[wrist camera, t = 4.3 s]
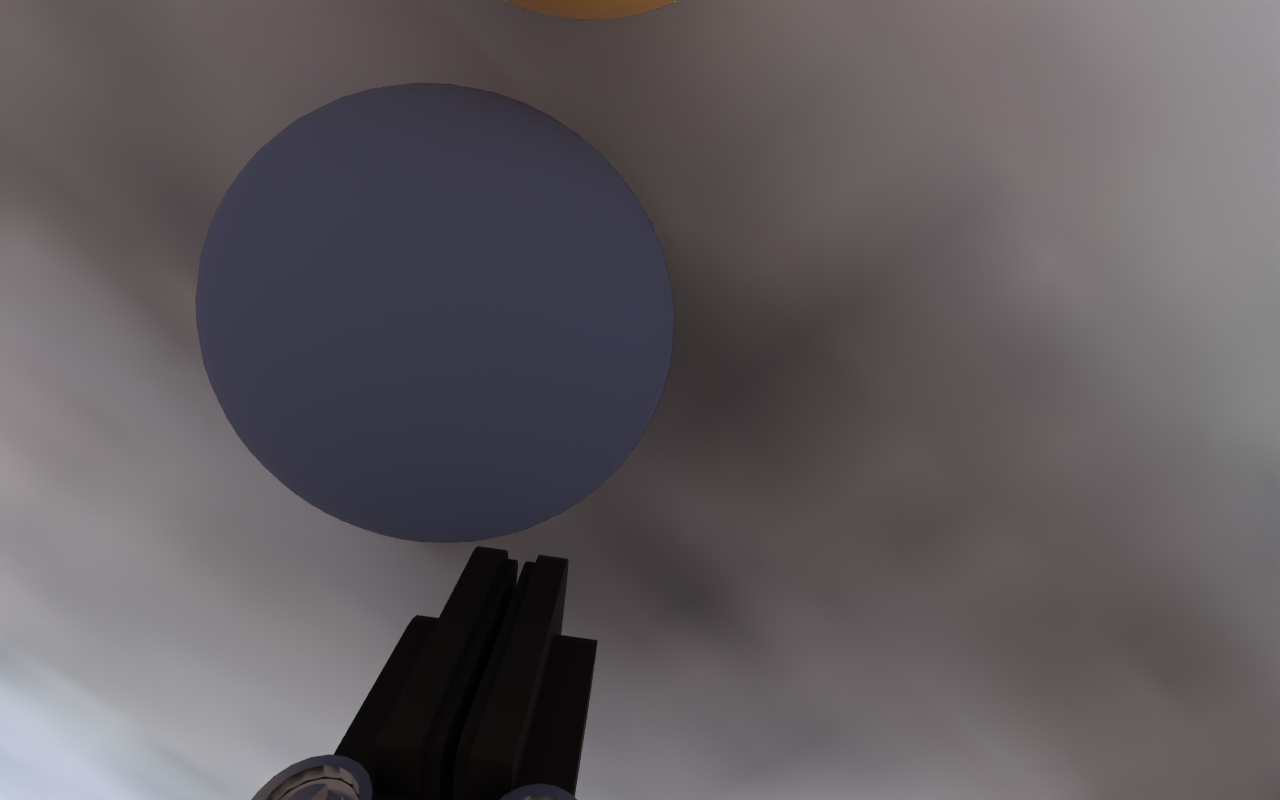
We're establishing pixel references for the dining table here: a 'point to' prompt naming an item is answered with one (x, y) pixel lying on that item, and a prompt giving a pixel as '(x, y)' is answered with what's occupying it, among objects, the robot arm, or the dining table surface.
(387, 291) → the dark blue ball
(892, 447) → the dining table surface
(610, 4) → the orange ball
